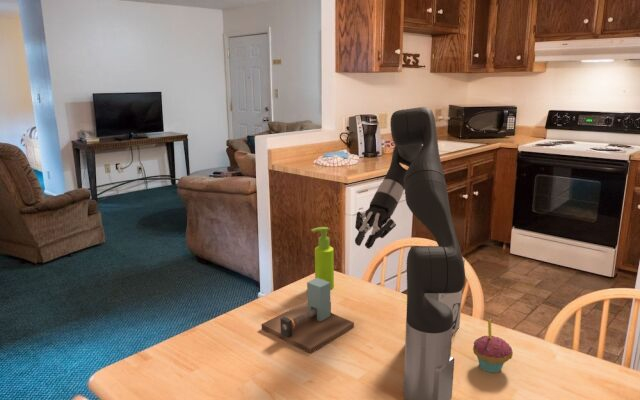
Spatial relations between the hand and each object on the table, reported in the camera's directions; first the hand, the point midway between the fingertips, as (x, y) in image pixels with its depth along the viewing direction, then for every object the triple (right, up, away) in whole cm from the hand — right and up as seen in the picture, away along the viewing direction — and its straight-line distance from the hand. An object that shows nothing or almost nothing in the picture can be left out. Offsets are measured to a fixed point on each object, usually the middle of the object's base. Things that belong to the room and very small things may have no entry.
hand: (362, 245), depth 143 cm
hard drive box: (+17, -22, -16) cm, 32 cm away
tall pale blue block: (-13, -18, -10) cm, 24 cm away
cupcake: (+27, -25, -30) cm, 48 cm away
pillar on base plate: (-16, -21, -12) cm, 29 cm away
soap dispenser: (-11, -15, +12) cm, 22 cm away
